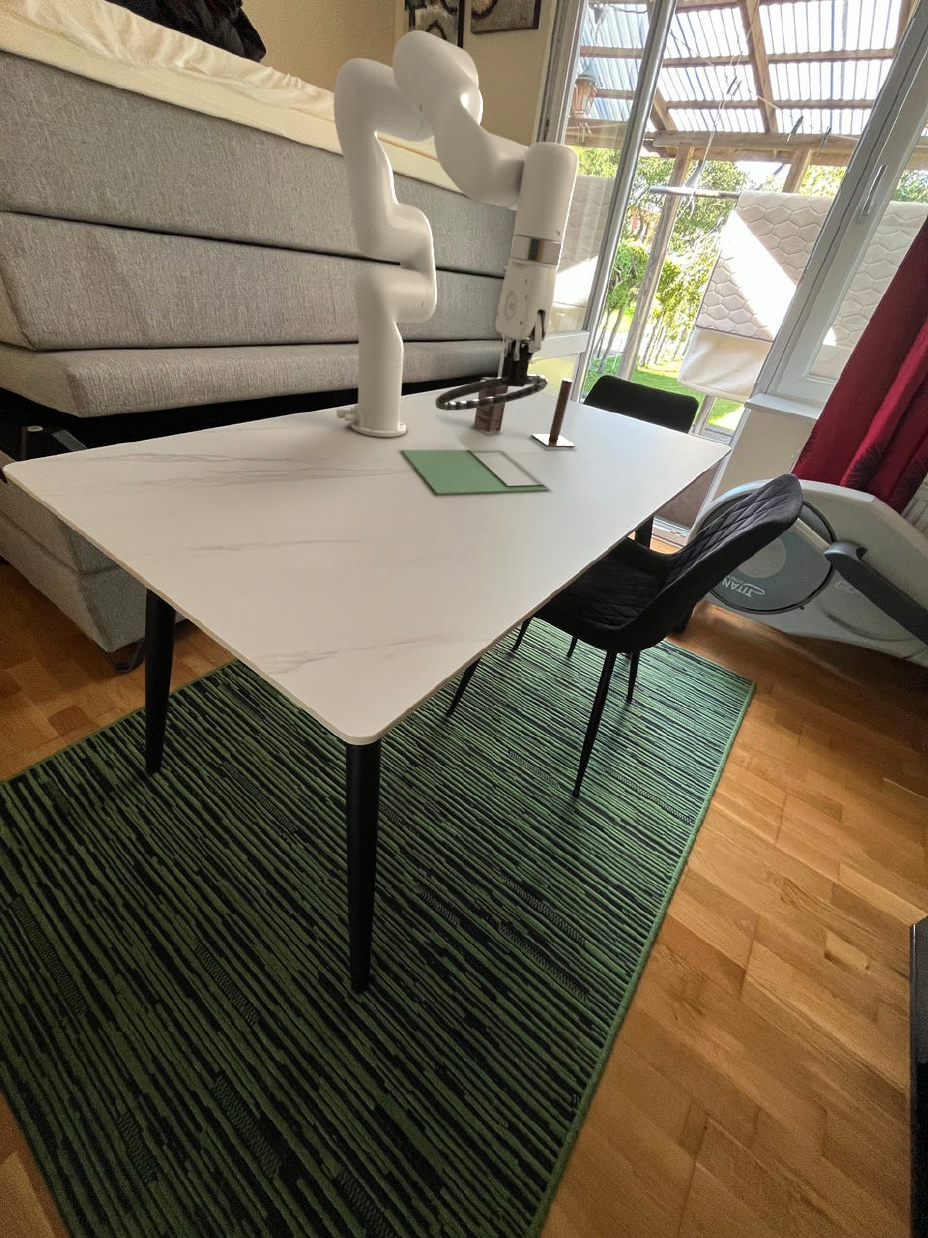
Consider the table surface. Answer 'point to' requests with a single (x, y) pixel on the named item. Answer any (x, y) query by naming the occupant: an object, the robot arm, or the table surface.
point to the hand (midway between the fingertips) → (512, 383)
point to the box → (490, 410)
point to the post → (557, 420)
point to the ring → (489, 384)
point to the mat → (460, 473)
